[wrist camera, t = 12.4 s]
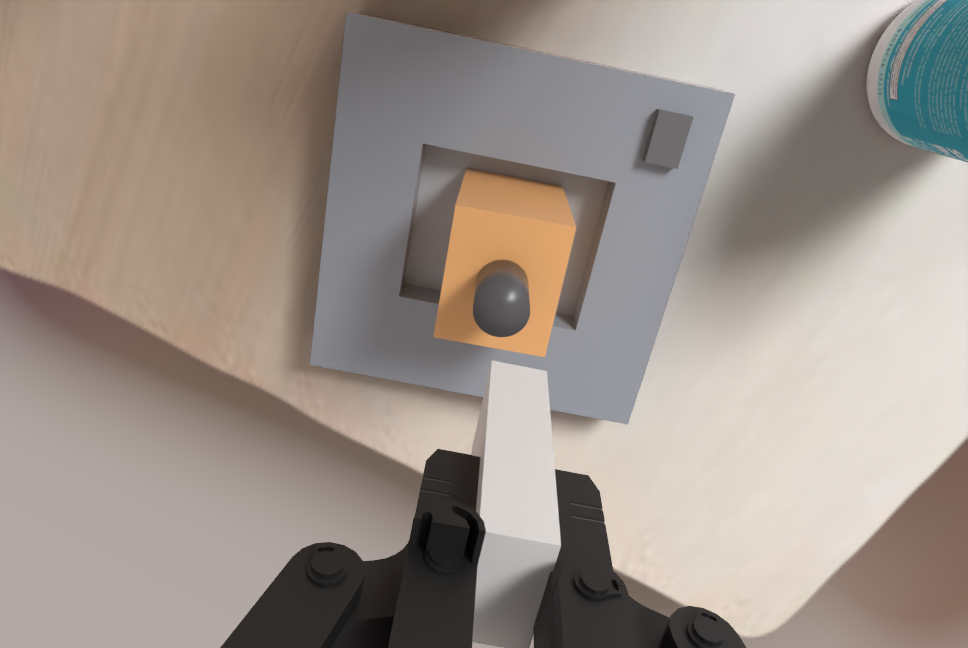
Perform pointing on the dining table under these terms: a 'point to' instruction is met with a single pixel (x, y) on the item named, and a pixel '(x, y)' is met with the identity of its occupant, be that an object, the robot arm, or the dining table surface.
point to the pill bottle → (924, 77)
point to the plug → (505, 263)
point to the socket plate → (513, 152)
